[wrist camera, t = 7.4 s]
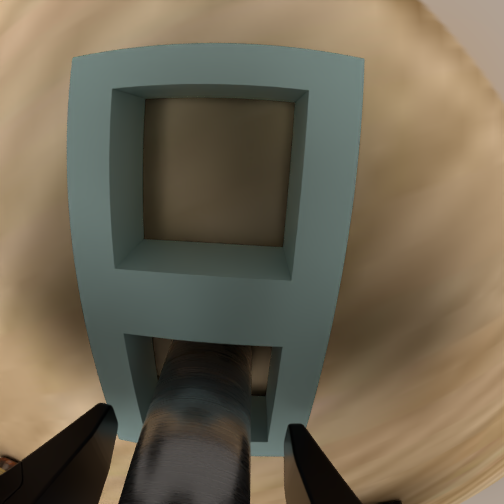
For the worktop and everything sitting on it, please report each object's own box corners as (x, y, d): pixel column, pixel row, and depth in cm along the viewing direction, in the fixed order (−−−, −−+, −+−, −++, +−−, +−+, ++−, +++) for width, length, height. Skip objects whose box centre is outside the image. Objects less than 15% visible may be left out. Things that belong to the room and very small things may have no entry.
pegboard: (337, 76, 8) (364, 58, 6) (292, 411, 13) (297, 456, 10) (111, 72, 8) (72, 57, 6) (135, 398, 13) (119, 439, 10)
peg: (254, 320, 11) (254, 550, 4) (249, 382, 12) (245, 575, 5) (169, 313, 11) (89, 522, 4) (174, 376, 12) (127, 558, 5)
